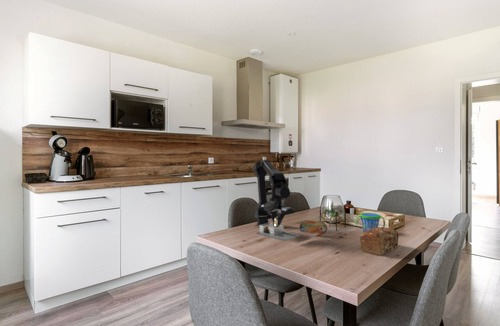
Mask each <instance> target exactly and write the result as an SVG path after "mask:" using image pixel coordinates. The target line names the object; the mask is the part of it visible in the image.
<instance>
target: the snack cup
mask: <svg viewBox="0 0 500 326" xmlns="http://www.w3.org/2000/svg"><path fill="white" fill-rule="evenodd" d="M359 218H360V220H361V224H362V226H361V227H362V231H363V233H364V232H365V231H367V230H370V229H373V228H375V227H379V224H380V219H382V220H383V221H382V223H383V225H382V227H386V220H385V218H384V217H383V216H382V215H381V214H378V213H373V212H362V213H360V214H358V215H357V216H356V219H355V225H356V226H358V219H359Z"/></svg>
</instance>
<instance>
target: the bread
mask: <svg viewBox="0 0 500 326" xmlns="http://www.w3.org/2000/svg"><path fill="white" fill-rule="evenodd" d="M359 244H360V250H361V251H362V252H364V253H368V254H371V255H375V256H383V255H384V254H388V253H390V252H392V251H393V250H395V249H397V248H398V244H399V233H398V231H397V230H395V229H392V228H389V227H386V226H385V227H383V226H381V227H380V226H378V227H375V228H373V229H370V230H367V231H365V232H364V231H363V233H362V234H361V235H360V236H359Z"/></svg>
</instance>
